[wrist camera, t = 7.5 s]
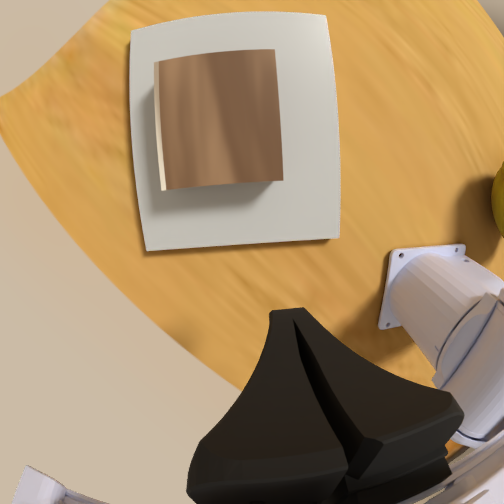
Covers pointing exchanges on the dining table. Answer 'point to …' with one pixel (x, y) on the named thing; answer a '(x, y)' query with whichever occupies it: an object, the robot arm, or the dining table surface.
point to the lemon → (498, 199)
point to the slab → (218, 119)
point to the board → (292, 133)
